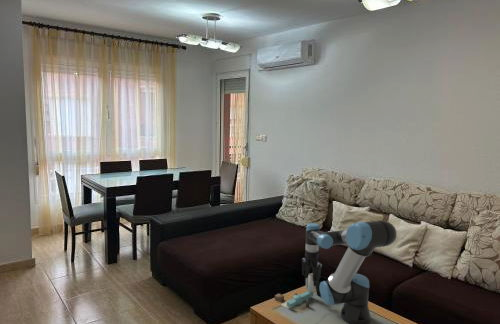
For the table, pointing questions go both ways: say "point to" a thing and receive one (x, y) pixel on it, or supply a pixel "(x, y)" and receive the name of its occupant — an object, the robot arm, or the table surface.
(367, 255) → the robot arm
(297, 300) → the lever
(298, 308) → the press base
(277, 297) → the walnut block
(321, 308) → the table surface
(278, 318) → the table surface
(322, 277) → the mug
